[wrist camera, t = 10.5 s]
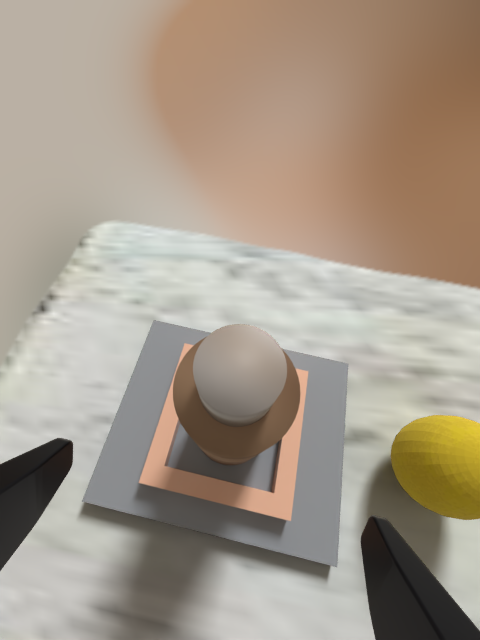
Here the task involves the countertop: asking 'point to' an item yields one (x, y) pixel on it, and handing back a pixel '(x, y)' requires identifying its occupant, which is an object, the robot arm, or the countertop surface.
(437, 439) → the lemon
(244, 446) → the pepper mill
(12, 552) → the robot arm
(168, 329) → the display stand
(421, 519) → the countertop surface
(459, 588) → the countertop surface
